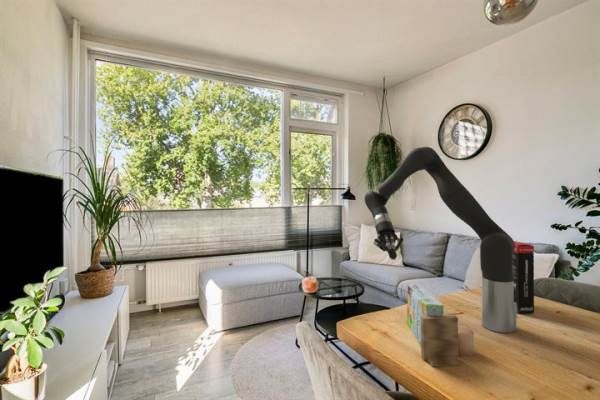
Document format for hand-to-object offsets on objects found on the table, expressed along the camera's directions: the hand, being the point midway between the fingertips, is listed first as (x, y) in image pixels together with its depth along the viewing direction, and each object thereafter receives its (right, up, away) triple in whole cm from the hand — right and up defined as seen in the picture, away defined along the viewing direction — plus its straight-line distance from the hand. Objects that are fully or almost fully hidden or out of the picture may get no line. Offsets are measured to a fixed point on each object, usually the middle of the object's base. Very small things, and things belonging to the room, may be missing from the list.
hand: (393, 258), depth 122 cm
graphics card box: (+49, -20, +2) cm, 54 cm away
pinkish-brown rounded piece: (+11, -22, -32) cm, 40 cm away
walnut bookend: (+2, -22, -37) cm, 43 cm away
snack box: (+2, -22, -24) cm, 32 cm away
